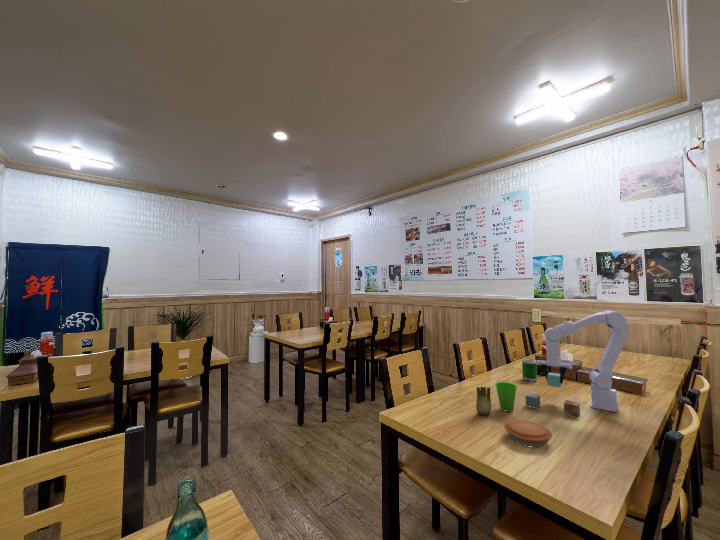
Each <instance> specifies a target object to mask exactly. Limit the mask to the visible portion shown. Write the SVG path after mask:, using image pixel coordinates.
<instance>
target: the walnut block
mask: <svg viewBox="0 0 720 540" xmlns="http://www.w3.org/2000/svg"><path fill="white" fill-rule="evenodd" d="M580 406H581V405H580V402H578V401H572V400H567V399H565V400H564V402H563V415H564V414H566V415H565V416H567V415H570V416H569V417H572V416H575V417H574V418H576V417H579V418H580V414H581V407H580Z"/></svg>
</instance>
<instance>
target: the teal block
mask: <svg viewBox="0 0 720 540" xmlns="http://www.w3.org/2000/svg"><path fill="white" fill-rule="evenodd" d="M546 382H547V386H549V387H555V388H561V387H562V386H563V383H562V384H560V373H557V372H556V373H555V372H549V373H548V374H547V380H546Z"/></svg>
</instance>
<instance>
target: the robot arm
mask: <svg viewBox="0 0 720 540" xmlns="http://www.w3.org/2000/svg"><path fill="white" fill-rule="evenodd" d="M627 321H628V320H627V319H626V318H625V315H623V314H622V313H621V312H619V311H613V310H610V309H609V310H608V309H607V310H604V311H599V312H595V313H594V314H591V315H589V316H586V317H583V318H582V319H579V320H576V321H574V322H573V321H571V320H568V321H567V320H564V321H563V323H561V324H558V325H553V327H547V328H546V329H545V330H544V333H543V335H544V336H545V338H546V339H545V340H546V341H545V348H546V360H542V359H541V360H540V359H537V360H535V361H536V366H540V368H541V370H542V371H543V374H544V375H545V380H546V381H547V374H548V373H550V370H549V368H550V367H555V368H559V374H560V384H562V385H563V383H564V377H565V375H566V372H567V370H568V369H569V370H573V364H571V363H565V362H561V361H562V359H561V358H562V357H561V343H560V340H561V339H562V338H564V337H567V336H570V335H573V334H575V333H577V331H578V329H581V328H585V327H588V326H591V325H594V324H602V325H603V324H604V325H605V326H607V327H608V328H609V330H610V331H611V335H610V338H609V340H608V342H607V344H606V346H605V350H604V351H603V353H602V355H601V358H600V361H599V362H598V364H596V365H595V366H594V368H593V369H592V370H591V371H590V372H589V374H588V378H589V380H590V381H591V384H590V395H591V396H590V397H591V398H590V399H591V402H590V405H589V407H590V408H593V409H599V410H603V411H609V412H615V413H618V407H619V402H618V392H617V389H615V388H612V386H613V377H614V376H613V375H614V374H613V373H614V372H613V369H614V367H615V365H616V362H617V361H618V359H619V356H620V353H621V352H622V349H623V347H624V346H625V344H626V341H627V338H628V336H629V329H628V324H627Z"/></svg>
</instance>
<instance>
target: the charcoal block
mask: <svg viewBox="0 0 720 540" xmlns="http://www.w3.org/2000/svg"><path fill="white" fill-rule="evenodd" d="M524 396H525V406H526V405H527V406H531V407H535V408H539V409H540V407H541V406H540V405H541V395H540V394H536V393H532V392H528V393H526V394H525V395H524ZM539 406H540V407H539ZM531 407H530V408H531ZM535 408H534V409H535Z"/></svg>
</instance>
